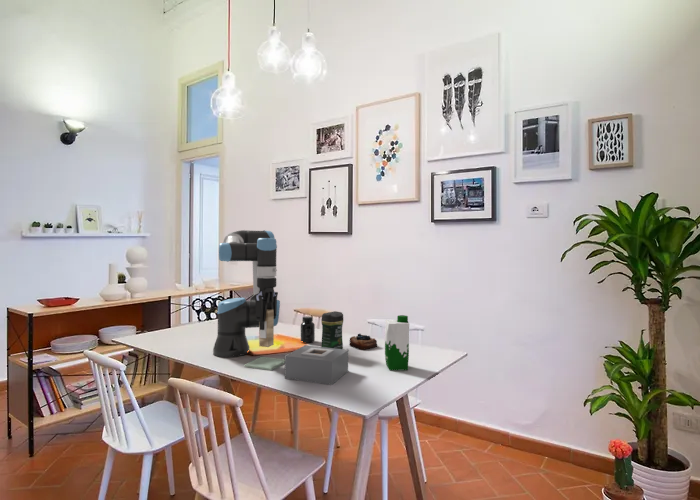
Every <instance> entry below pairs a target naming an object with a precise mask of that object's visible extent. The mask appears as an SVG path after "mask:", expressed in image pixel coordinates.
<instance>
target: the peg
mask: <svg viewBox="0 0 700 500" xmlns="http://www.w3.org/2000/svg"><path fill="white" fill-rule="evenodd" d="M265 321H267V338H260V322H259V327H258V329H259V332H258V334H259V335H258V337H259V339H258V346H259V347H263V348H269V347H272V346H274V342H275V341H274V339H275V338H274V335H275V334H274V332H275V331H274V330H275V329H274V327H275V326H274V310H271V309H267V311H266V320H265Z"/></svg>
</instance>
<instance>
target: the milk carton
mask: <svg viewBox="0 0 700 500" xmlns="http://www.w3.org/2000/svg"><path fill="white" fill-rule="evenodd" d="M384 327H385V328H384V329H385V330H384V357H385V365H386V368H387V369H388V370H389V371H408V369H409V357H410V355H409V353H410V322H409V316H408V315H403V314H402V315H397V318H396V319H386V320H385V326H384Z"/></svg>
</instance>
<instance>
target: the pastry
mask: <svg viewBox="0 0 700 500" xmlns="http://www.w3.org/2000/svg"><path fill="white" fill-rule="evenodd" d="M348 345H349V346H350V347H352V348H353V349H357V350H360V351H367V350H368V351H369V350H372V349H375V348H378V340H377V339H376V338H373V337H371V336H370V335H366V334H362V333H358V334H357V335H356V336H355V335H353V336H351V337H349V344H348Z"/></svg>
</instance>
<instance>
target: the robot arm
mask: <svg viewBox="0 0 700 500" xmlns="http://www.w3.org/2000/svg"><path fill="white" fill-rule="evenodd" d="M277 250H278V245H277V239H276V238H275V235H274V232H273V231H270V230H266V229H265V230H245V229H244V230H236V231H232V232H230V233H228V234H227V235H226V236H225V237H224V239H223V242H222V243H219V244H218V260H219V262H220V261H221V262H227V263H228V262H252V286H253V287H252V288H253V289H252V290H253V295H252V296H251V297H250V299H249V300H247V299H246V298H245V297H235V298H234V297H233V298H228V299H224V300H222V301H220V302H218V304H217V312H216V313H217V335H216V339H215V342H214V346H213V349H212V355H214V356H216V357H221V358H231V357H232V358H233V357H234V358H235V357H240V356H244V355H245V356H246V355H247V354H248V353H247V351H248V350H249V351H250V344H249V342H248V341H249V340H248V339H247V335H246V329H251V328H252V329H253V328H259V322H260V338H267V321H265V320H266V311H267V309H271V310H274V327H276V326H277V325H278V324H279V318H280V310H281V309H280V306H281V301H280V300H279V299H278V293H279V292H278V291H275V289H274V288H276V287H277V278H276V277H277V271H278V270H277Z"/></svg>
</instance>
